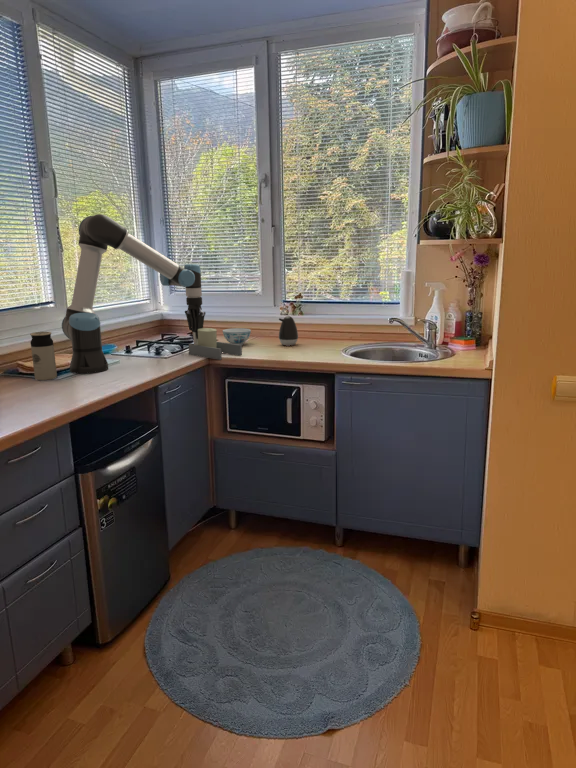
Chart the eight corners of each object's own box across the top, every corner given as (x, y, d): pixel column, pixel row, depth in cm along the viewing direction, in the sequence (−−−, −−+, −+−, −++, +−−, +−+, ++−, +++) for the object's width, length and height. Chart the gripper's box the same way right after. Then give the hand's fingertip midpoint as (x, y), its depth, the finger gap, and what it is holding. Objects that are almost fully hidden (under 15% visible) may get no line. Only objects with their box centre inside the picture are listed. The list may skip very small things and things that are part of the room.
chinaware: (253, 342, 293) (253, 328, 291) (248, 346, 278) (248, 332, 276) (226, 342, 294) (225, 328, 292) (220, 346, 280) (219, 332, 278)
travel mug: (50, 375, 217) (45, 330, 212) (61, 378, 212) (55, 332, 207) (31, 378, 211) (25, 333, 206) (41, 381, 206) (35, 335, 202)
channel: (220, 359, 245) (219, 349, 243) (189, 354, 259) (188, 344, 257) (242, 355, 255) (241, 345, 254) (211, 350, 269) (210, 340, 268)
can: (206, 356, 254) (206, 331, 251) (193, 353, 260) (193, 328, 257) (220, 353, 261) (220, 328, 258) (207, 350, 267) (207, 326, 264)
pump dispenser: (275, 344, 285) (274, 315, 281) (293, 342, 289) (292, 314, 286) (283, 347, 276) (282, 317, 272) (301, 345, 280) (301, 316, 277)
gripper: (208, 296, 258) (211, 345, 264) (191, 295, 266) (194, 342, 272) (196, 298, 252) (199, 347, 258) (179, 296, 260) (182, 344, 266)
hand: (196, 345), depth 265 cm, fingers closed
